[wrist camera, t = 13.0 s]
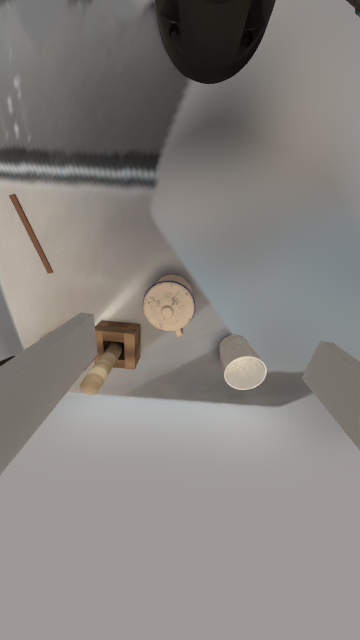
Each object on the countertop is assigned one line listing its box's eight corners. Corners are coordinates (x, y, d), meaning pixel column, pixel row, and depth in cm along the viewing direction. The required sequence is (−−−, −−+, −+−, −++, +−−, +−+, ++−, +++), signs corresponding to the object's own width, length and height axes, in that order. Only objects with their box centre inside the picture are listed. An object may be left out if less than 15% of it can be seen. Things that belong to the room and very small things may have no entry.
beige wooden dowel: (115, 333, 43) (78, 379, 28) (128, 334, 43) (97, 381, 28) (116, 344, 44) (80, 393, 30) (128, 345, 44) (99, 395, 30)
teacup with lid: (146, 279, 38) (129, 293, 27) (187, 268, 37) (188, 277, 26) (162, 329, 42) (154, 357, 32) (200, 320, 41) (205, 347, 30)
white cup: (225, 365, 46) (235, 395, 36) (210, 341, 43) (216, 368, 34) (255, 351, 44) (273, 379, 34) (240, 326, 41) (256, 349, 32)
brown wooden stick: (10, 196, 33) (9, 195, 33) (15, 194, 33) (13, 194, 33) (49, 273, 38) (48, 273, 38) (53, 272, 38) (52, 272, 38)
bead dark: (101, 320, 42) (91, 330, 37) (140, 324, 42) (134, 334, 37) (104, 353, 45) (95, 365, 41) (140, 356, 45) (134, 369, 41)
